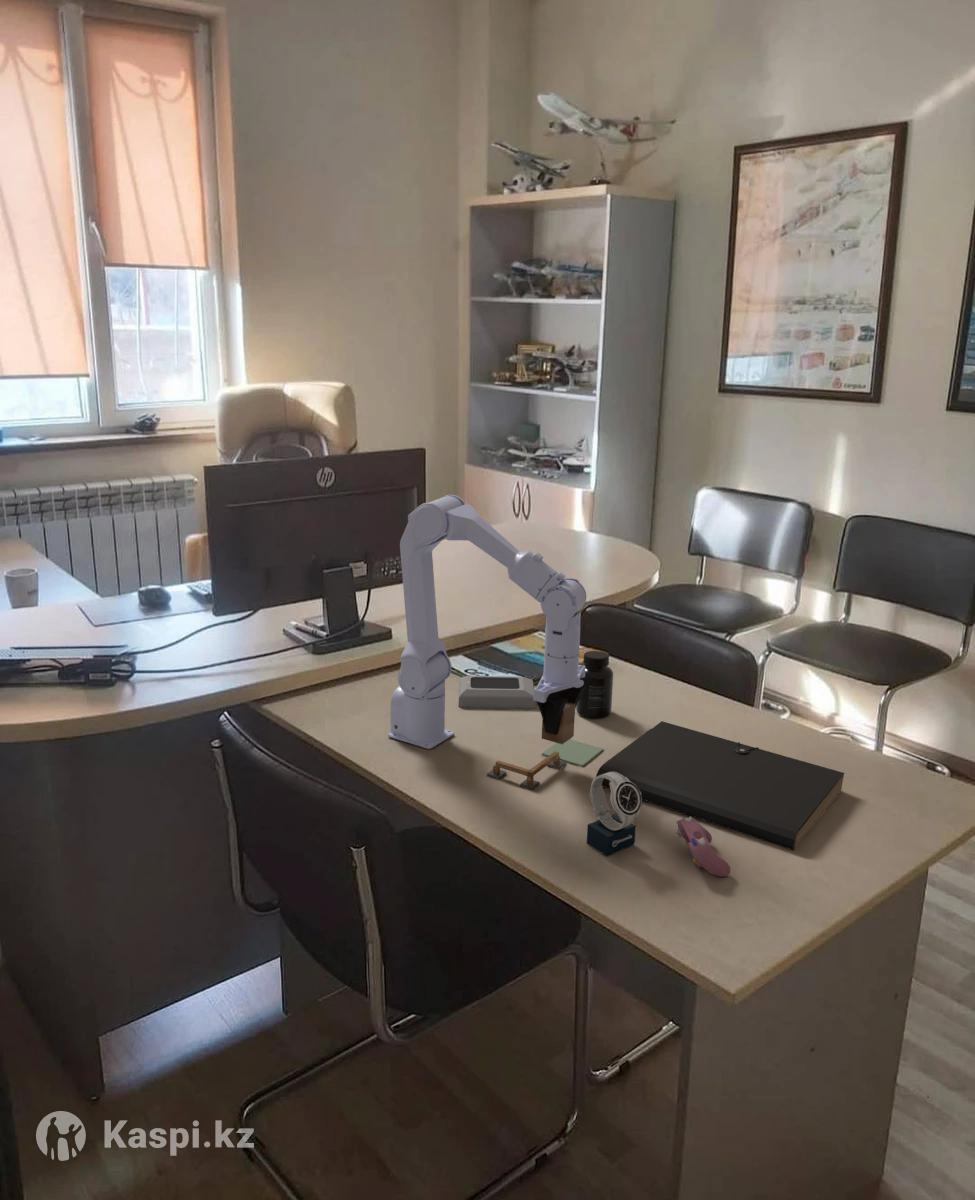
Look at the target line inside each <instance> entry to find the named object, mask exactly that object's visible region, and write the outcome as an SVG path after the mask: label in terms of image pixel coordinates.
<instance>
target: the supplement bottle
mask: <svg viewBox="0 0 975 1200" xmlns="http://www.w3.org/2000/svg"><path fill="white" fill-rule="evenodd" d="M582 662H583V663H582V664H583V665H582V666H585V677H583V678H580V680H583V681H584V684H585V690H584V692H583V693H582V695H581V697H580V699H579V701H578V703H577V706H576V709H575V712H576V713H577V714H578V715H579V716H581V717H582V718H586V719H591V720H598V719H599V720H600V719H606V718H607V717H609V716H610V715H611V714H612V706H613V705H612V704H613V689H614V687H613V686H614V672H613V669H612V668H611V667H610V666H609V665H610V655H609V654H608V653H607V652H605V651H600V650H588V651H586V652H584V653H583V660H582Z"/></svg>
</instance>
